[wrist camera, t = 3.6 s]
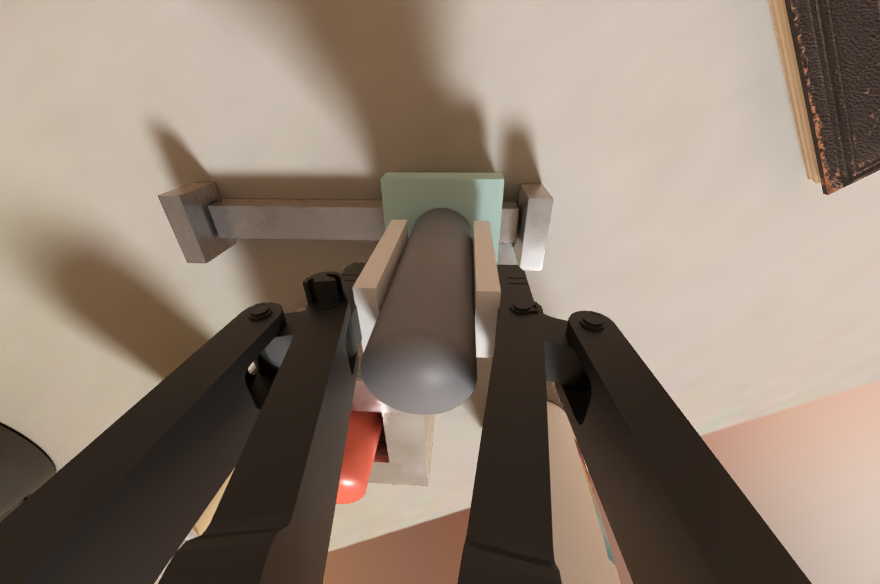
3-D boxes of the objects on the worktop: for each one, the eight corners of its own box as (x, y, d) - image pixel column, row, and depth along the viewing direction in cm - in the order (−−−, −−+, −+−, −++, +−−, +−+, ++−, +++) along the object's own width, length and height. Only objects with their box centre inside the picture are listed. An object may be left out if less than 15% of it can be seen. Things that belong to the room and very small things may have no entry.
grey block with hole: (324, 400, 30) (289, 477, 24) (299, 306, 25) (246, 375, 19) (436, 405, 29) (428, 486, 23) (433, 310, 24) (422, 383, 18)
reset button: (336, 416, 25) (302, 501, 20) (326, 377, 23) (286, 460, 18) (390, 419, 25) (369, 506, 20) (384, 380, 23) (360, 465, 17)
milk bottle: (465, 430, 31) (463, 852, 14) (518, 381, 27) (601, 870, 10) (532, 461, 33) (604, 871, 16) (590, 418, 29) (766, 893, 12)
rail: (219, 243, 23) (187, 262, 20) (196, 182, 21) (157, 195, 18) (532, 248, 21) (541, 270, 19) (542, 183, 19) (553, 198, 17)
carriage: (400, 261, 22) (330, 438, 11) (392, 166, 19) (284, 276, 8) (491, 263, 22) (517, 449, 11) (499, 166, 19) (546, 282, 7)
